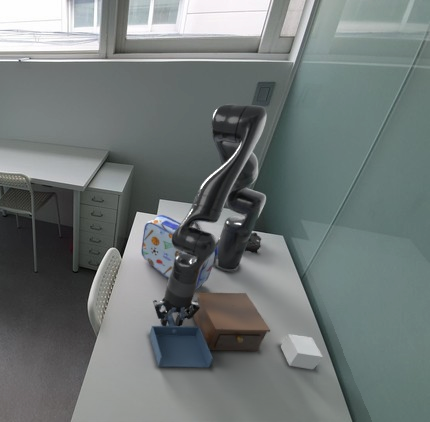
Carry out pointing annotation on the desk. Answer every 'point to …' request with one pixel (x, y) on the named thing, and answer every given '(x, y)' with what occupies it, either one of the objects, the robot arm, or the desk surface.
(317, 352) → the white cube
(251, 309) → the storage box
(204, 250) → the robot arm
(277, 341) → the desk surface
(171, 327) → the dustpan
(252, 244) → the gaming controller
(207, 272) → the lunch box
